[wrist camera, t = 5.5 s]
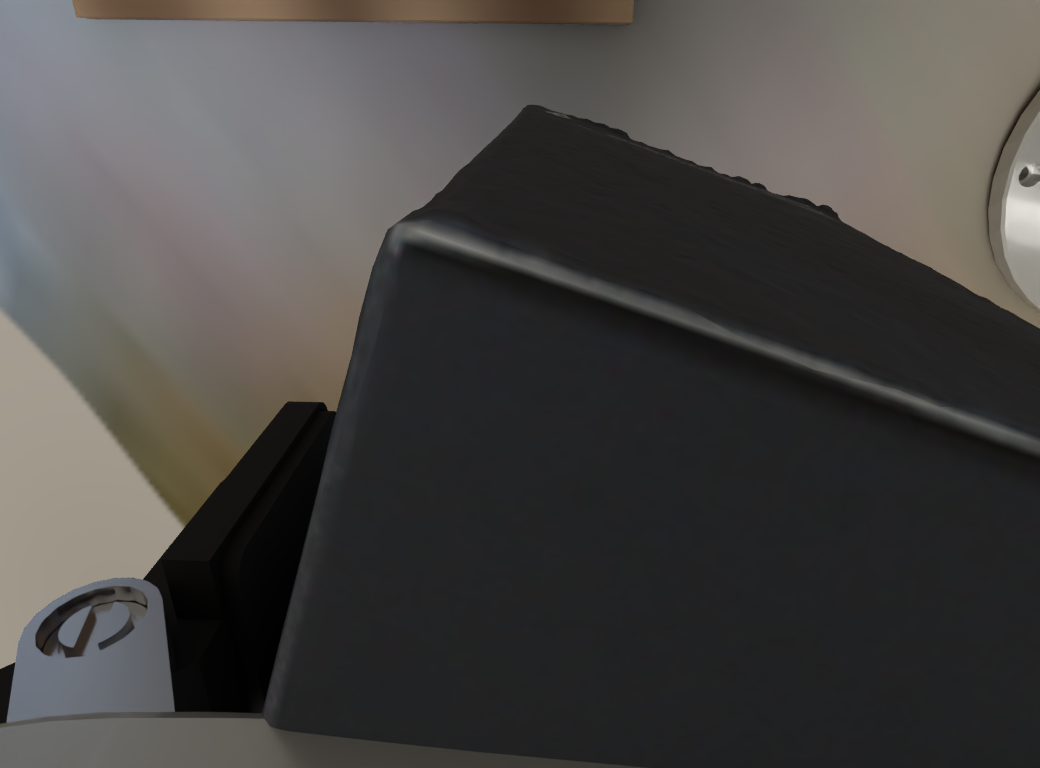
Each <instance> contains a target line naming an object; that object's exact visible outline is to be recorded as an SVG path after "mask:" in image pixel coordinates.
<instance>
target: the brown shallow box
mask: <svg viewBox="0 0 1040 768" xmlns="http://www.w3.org/2000/svg"><path fill="white" fill-rule="evenodd" d="M72 1H73V5H74V9H75V14H76V17H81V18H89V19H136V20H234V21H333V22H431V23H529V24H628V25H629V24H631V23H633V11H634V0H72Z"/></svg>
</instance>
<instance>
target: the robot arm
mask: <svg viewBox="0 0 1040 768" xmlns="http://www.w3.org/2000/svg"><path fill="white" fill-rule="evenodd" d="M1019 174H1020V175H1019ZM988 218H989V239H990V243H991V246H992V250H993V253H994V257H995V261H996V264H997V266H998V268H999V269H1000V271H1001V273H1002V275H1003V276H1004V278H1005V280H1006V282H1007V283H1008V285H1009V286H1010V287H1011V288H1012V289H1013V290H1014V291H1015V292H1016V293H1017V294H1018V295H1019V296H1020V297H1021V298H1022V299H1023V301H1024V302H1025V303H1027V304H1029V305H1030V306H1032V307H1034V308H1035V309H1037V310H1039V311H1040V90H1039V92H1038V93H1037V94H1036V96H1035V97H1034V98H1033V100H1032V101H1031V102H1030V104H1029V105H1028V107H1027V108H1026V109H1025V111H1024V112H1023V113H1022V115H1021V116H1020V118H1019V120H1018V122H1017V124H1016V126H1015V128H1014V130H1013V131H1012V133H1011V135H1010V137H1009V139H1008V141H1007V143H1006V145H1005V147H1004V149H1003V152H1002V155H1001V157H1000V160H999V163H998V166H997V169H996V172H995V175H994V178H993V182H992V189H991V195H990V202H989V208H988ZM335 416H336V412H335V411H328V410H327V407H326V405H325V404H324V403H323V402H287V403H286V404H285V405H284V406H283V408H282V409H281V410H280V411H279V413H278V414H277V415H276V416H275V418H274V419H273V420H272V421H271V423H270V424H269V425H268V426H267V428H266V429H265V430H264V431H263V433H262V434H261V435H260V436H259V438H258V439H257V440H256V441H255V443H254V444H253V445H252V446H251V448H250V449H249V450H248V451H247V453H246V454H245V455H244V456H243V458H242V459H241V460H240V461H239V463H238V464H237V465H236V466H235V468H234V469H233V470H232V471H231V473H230V474H229V475H228V476H227V478H226V479H225V480H223V481H222V482H221V483H220V484H219V485H218V487H217V488H216V489H215V490H214V492H213V493H212V494H211V495H210V497H209V498H208V499H207V500H206V502H205V503H204V504H203V505H202V507H201V508H200V509H199V510H198V512H197V513H196V514H195V515H194V517H193V518H192V519H191V520H190V522H189V523H188V524H187V525H186V527H185V528H184V529H183V530H182V532H181V533H180V534H179V535H178V537H177V538H176V539H175V540H174V542H173V543H172V544H171V545H170V546H169V548H168V549H167V550H166V551H165V553H164V554H163V555H162V556H161V558H160V559H159V560H158V561H157V563H156V564H155V565H154V566H153V568H152V569H151V570H150V571H149V573H148V574H147V575H146V576H145V578H144V579H143V580H141V579H136V578H112V579H108V580H103V581H98V582H93V583H91V584H88V585H85V586H83V587H80V588H77V589H74V590H72V591H70V592H68V593H67V594H65V595H63V596H61V597H59V598H57V599H56V600H54V601H52V602H51V603H50V604H48V605H47V606H46V607H45V608H43V609H42V610H41V611H40V612H38V613H37V614H36V615H35V616H34V617H33V618H32V620H31V621H30V622H29V623H28V624H27V626H26V627H25V628H24V630H23V633H22V635H21V637H20V640H19V642H18V649H17V656H16V662H15V663H13V664H11V665H8V666H6V667H4V668H2V669H0V768H643V767H633V766H623V765H612V764H601V763H591V762H580V761H569V760H559V759H548V758H538V757H527V756H516V755H505V754H494V753H483V752H473V751H464V750H454V749H445V748H435V747H426V746H416V745H407V744H397V743H388V742H378V741H370V740H361V739H352V738H343V737H334V736H326V735H317V734H308V733H299V732H291V731H285V730H281V729H276V728H274V727H271V726H269V724H268V723H267V721H266V720H265V719H263V717H262V712H263V708H264V704H265V700H266V696H267V691H268V687H269V683H270V679H271V675H272V671H273V667H274V663H275V659H276V655H277V651H278V647H279V643H280V639H281V635H282V631H283V627H284V623H285V619H286V615H287V611H288V607H289V603H290V599H291V595H292V591H293V587H294V583H295V579H296V575H297V571H298V567H299V563H300V559H301V555H302V551H303V547H304V543H305V539H306V535H307V531H308V527H309V523H310V519H311V515H312V511H313V507H314V503H315V499H316V495H317V491H318V487H319V483H320V479H321V475H322V470H323V466H324V461H325V457H326V453H327V448H328V444H329V439H330V435H331V431H332V427H333V423H334V419H335Z"/></svg>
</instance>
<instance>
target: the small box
mask: <svg viewBox="0 0 1040 768" xmlns="http://www.w3.org/2000/svg"><path fill="white" fill-rule="evenodd" d="M262 717H263V719H265V720H266V721H267V723H268V724H269V726H271V727H274V728H276V729H281V730H285V731H291V732H299V733H308V734H317V735H326V736H334V737H343V738H352V739H361V740H370V741H378V742H388V743H397V744H407V745H416V746H426V747H435V748H445V749H454V750H464V751H473V752H483V753H494V754H505V755H516V756H527V757H538V758H548V759H559V760H569V761H580V762H591V763H601V764H612V765H623V766H633V767H643V768H1040V329H1039V328H1037V327H1036V326H1034V325H1032V324H1030V323H1029V322H1027V321H1025V320H1023V319H1021V318H1020V317H1018V316H1016V315H1015V314H1013V313H1011V312H1010V311H1008V310H1005V309H1003V308H1000V307H999V306H997V305H996V304H994V303H993V302H991V301H990V300H988V299H987V298H984V297H981V296H978V295H976V294H975V293H973V292H971V291H970V290H968V289H967V288H965V287H964V286H962V285H960V284H959V283H957V282H955V281H953V280H951V279H950V278H948V277H946V276H944V275H942V274H940V273H938V272H937V271H935V270H933V269H932V268H930V267H928V266H926V265H924V264H922V263H920V262H917V261H915V260H913V259H911V258H909V257H907V256H905V255H904V254H902V253H899V252H897V251H895V250H893V249H891V248H890V247H888V246H885V245H883V244H881V243H880V242H878V241H876V240H874V239H873V238H871V237H869V236H867V235H866V234H864V233H862V232H860V231H858V230H856V229H854V228H853V227H851V226H849V225H847V224H845V223H843V222H842V221H841V220H840V219H839V217H838V214H837V213H836V212H834V211H833V210H832V208H831V207H829V206H827V205H820V206H816V205H815V204H813V203H812V202H811V201H809V200H808V199H804V198H798V197H794V196H790V195H788V196H782V195H778V194H774V193H771V192H769V191H767V189H766V188H765V186H763V185H762V184H760V183H754V184H751V183H750V182H749V181H748V180H747V179H745V178H742V177H740V176H737V177H730V176H728V175H726V174H720V173H718V172H716V171H715V170H714V169H713V168H712V167H703V166H700V165H697V164H695V163H694V162H692V161H688V160H685V159H682V158H680V157H677V156H675V155H674V154H673V153H671V152H670V151H669V150H661V149H658V148H654V147H651V146H648V145H646V144H644V143H642V142H638V141H634V140H632V139H630V138H629V136H628V134H627V133H626V132H624V131H622V130H619V129H614V128H610V127H608V126H606V125H605V124H600V123H594V122H592V121H590V120H588V119H581V118H577V117H574V116H572V115H564V114H562V113H558V112H555V111H551V110H549V109H547V108H544V107H542V106H538V105H527V106H526V107H525V108H523V110H522V111H521V112H520V113H519V115H518V116H517V117H516V118H515V119H514V120H513V121H512V123H510V124H509V125H508V126H507V127H506V129H504V130H503V131H502V132H501V133H500V134H499V135H498V136H497V137H496V138H495V139H494V140H493V141H492V142H491V143H490V144H488V145H487V146H486V147H485V148H484V149H483V150H482V151H481V152H480V153H479V154H478V155H477V156H476V157H475V158H474V159H473V160H472V161H471V162H470V163H469V164H467V165H466V166H465V167H463V168H462V169H461V170H459V172H458V173H457V174H456V175H455V176H454V177H453V179H452V180H451V181H450V182H449V183H448V185H447V186H446V187H445V188H444V189H443V190H442V191H441V192H439V193H437V194H436V195H435V196H434V198H433V199H432V200H431V201H430V202H429V203H427V204H426V205H425V206H424V207H423V208H421V209H418V210H415V211H413V212H411V213H410V214H409V215H407V216H406V217H404V218H403V219H402V220H400V221H399V222H398V223H396V224H395V225H393V226H392V227H391V228H389V229H388V230H387V232H386V235H385V238H384V240H383V243H382V245H381V248H380V250H379V253H378V255H377V258H376V260H375V263H374V265H373V268H372V272H371V275H370V279H369V283H368V287H367V290H366V294H365V298H364V302H363V305H362V309H361V313H360V317H359V321H358V326H357V331H356V336H355V341H354V346H353V351H352V356H351V360H350V364H349V367H348V371H347V375H346V378H345V382H344V386H343V390H342V393H341V397H340V401H339V404H338V408H337V412H336V416H335V419H334V423H333V427H332V431H331V435H330V439H329V444H328V448H327V453H326V457H325V461H324V466H323V470H322V475H321V479H320V483H319V487H318V491H317V495H316V499H315V503H314V507H313V511H312V515H311V519H310V523H309V527H308V531H307V535H306V539H305V543H304V547H303V551H302V555H301V559H300V563H299V567H298V571H297V575H296V579H295V583H294V587H293V591H292V595H291V599H290V603H289V607H288V611H287V615H286V619H285V623H284V627H283V631H282V635H281V639H280V643H279V647H278V651H277V655H276V659H275V663H274V667H273V671H272V675H271V679H270V683H269V687H268V691H267V696H266V700H265V704H264V708H263V712H262Z"/></svg>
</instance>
